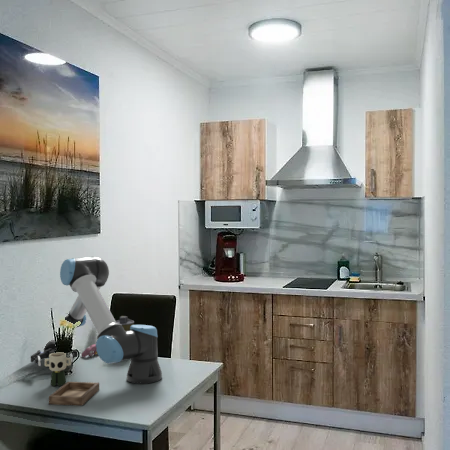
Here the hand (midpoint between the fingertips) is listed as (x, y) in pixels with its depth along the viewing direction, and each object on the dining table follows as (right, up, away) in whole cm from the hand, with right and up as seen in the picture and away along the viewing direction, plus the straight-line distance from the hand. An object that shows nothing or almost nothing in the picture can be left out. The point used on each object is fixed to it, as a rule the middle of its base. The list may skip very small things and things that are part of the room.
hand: (56, 361), depth 233 cm
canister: (+24, -6, +34) cm, 42 cm away
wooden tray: (+15, -8, -23) cm, 29 cm away
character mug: (+4, -8, -9) cm, 12 cm away
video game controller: (+7, -7, +35) cm, 37 cm away
